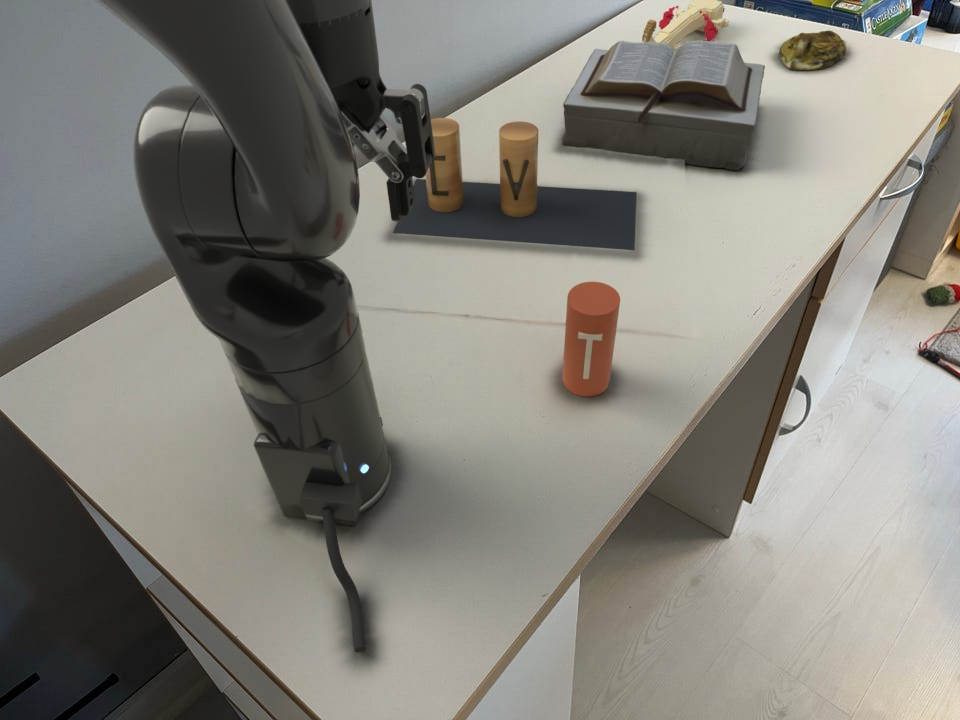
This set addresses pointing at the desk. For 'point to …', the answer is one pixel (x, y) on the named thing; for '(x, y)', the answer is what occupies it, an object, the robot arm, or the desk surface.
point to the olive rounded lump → (812, 50)
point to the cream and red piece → (687, 22)
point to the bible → (667, 102)
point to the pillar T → (590, 337)
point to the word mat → (530, 217)
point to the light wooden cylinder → (518, 168)
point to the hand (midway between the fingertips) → (350, 208)
